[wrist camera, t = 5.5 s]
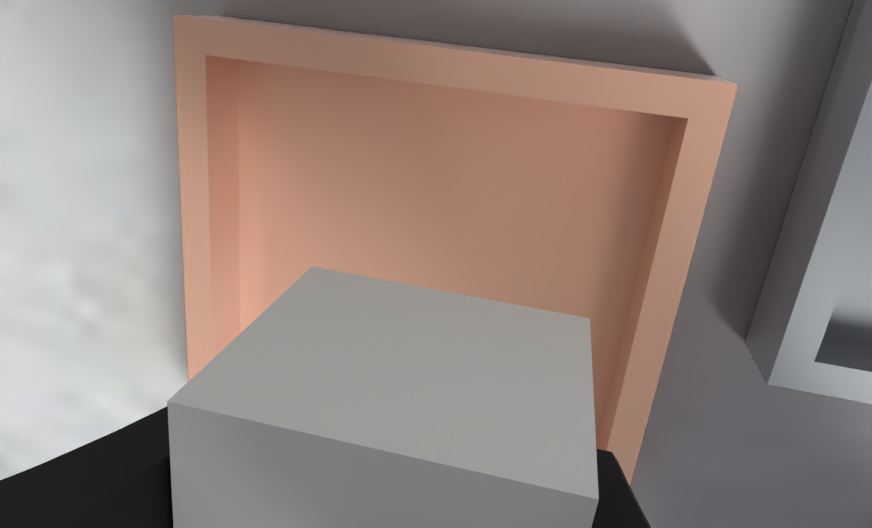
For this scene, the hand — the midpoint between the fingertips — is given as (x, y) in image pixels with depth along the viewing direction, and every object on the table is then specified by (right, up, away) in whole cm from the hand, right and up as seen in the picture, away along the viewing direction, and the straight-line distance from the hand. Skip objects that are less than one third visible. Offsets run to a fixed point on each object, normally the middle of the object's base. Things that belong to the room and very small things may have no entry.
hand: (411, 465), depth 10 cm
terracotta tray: (0, +3, +9) cm, 9 cm away
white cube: (0, +1, +1) cm, 1 cm away
